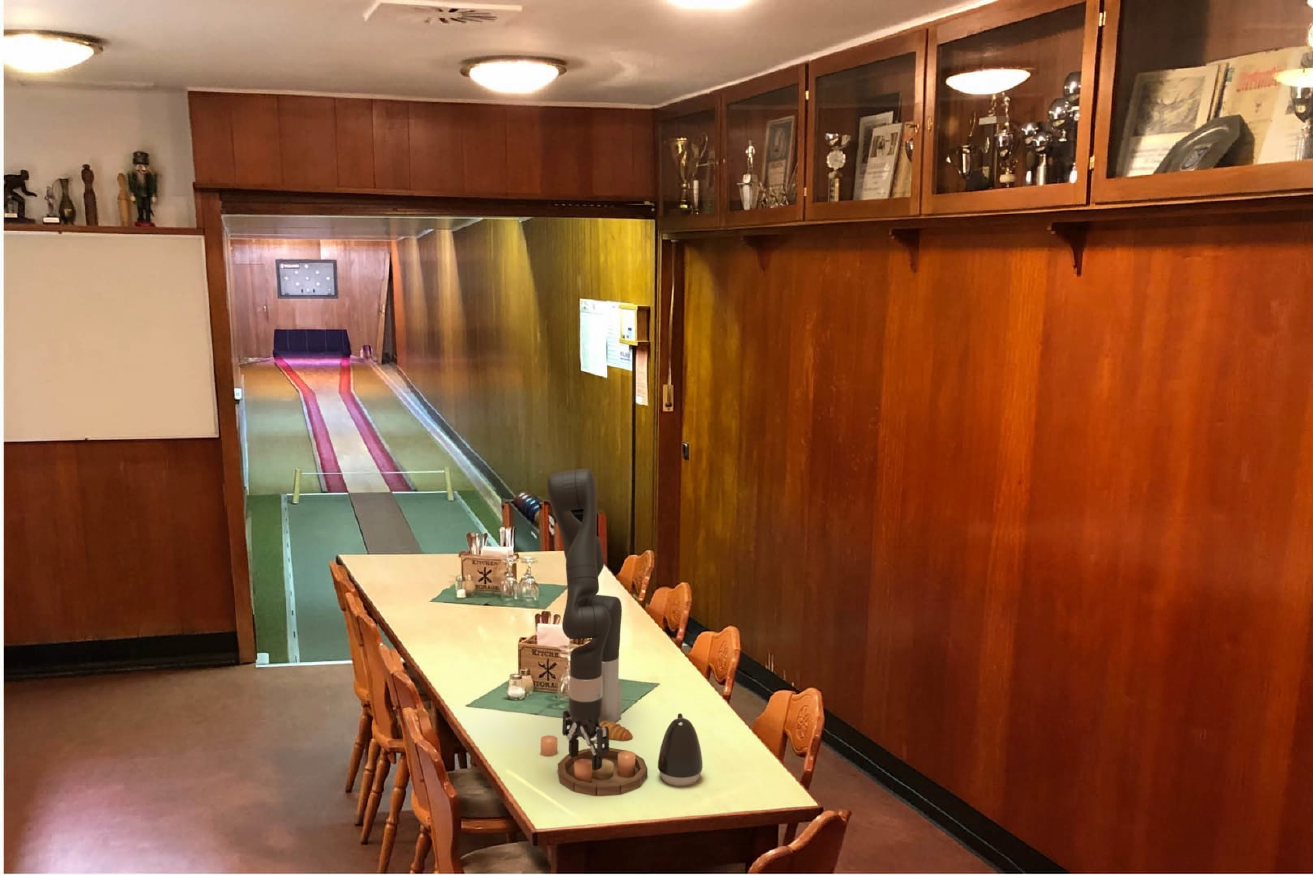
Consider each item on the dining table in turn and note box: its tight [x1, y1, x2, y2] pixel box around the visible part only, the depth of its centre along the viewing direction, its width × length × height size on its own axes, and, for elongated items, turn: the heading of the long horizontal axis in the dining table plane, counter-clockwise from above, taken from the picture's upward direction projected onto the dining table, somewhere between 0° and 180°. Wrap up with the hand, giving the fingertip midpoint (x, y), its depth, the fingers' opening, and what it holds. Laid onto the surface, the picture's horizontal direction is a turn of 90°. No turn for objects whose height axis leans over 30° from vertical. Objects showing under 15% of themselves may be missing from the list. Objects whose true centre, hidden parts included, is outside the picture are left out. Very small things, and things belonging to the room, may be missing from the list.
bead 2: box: [574, 759, 592, 783], centre depth 232 cm, size 4×4×4 cm
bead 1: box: [540, 735, 559, 757], centre depth 247 cm, size 4×4×4 cm
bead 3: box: [618, 750, 636, 777], centre depth 237 cm, size 4×4×4 cm
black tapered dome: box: [657, 713, 704, 787], centre depth 234 cm, size 10×10×15 cm
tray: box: [557, 747, 649, 797], centre depth 236 cm, size 20×20×4 cm
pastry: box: [600, 721, 634, 742], centre depth 258 cm, size 9×7×4 cm
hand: (585, 762), depth 232 cm, fingers open, 8 cm apart
